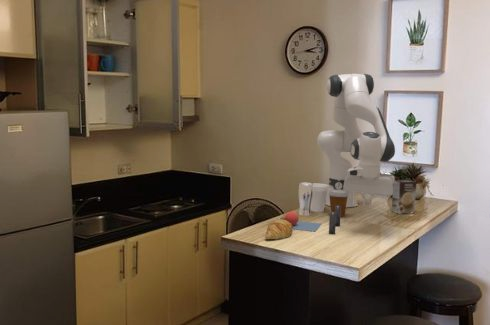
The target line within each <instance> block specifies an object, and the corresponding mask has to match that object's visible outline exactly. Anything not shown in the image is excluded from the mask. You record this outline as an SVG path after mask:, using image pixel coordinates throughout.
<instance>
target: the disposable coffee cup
mask: <svg viewBox="0 0 490 325" xmlns="http://www.w3.org/2000/svg"><path fill="white" fill-rule="evenodd" d="M348 195H349V194H348V192H345V191H344V190H340V189H333V190H330V191H329V196H330V206H329V207H330V212H335V206H336V205H339V206H341V218H344V217H345V216H346V215H345V213H346V209H347V207H346V203H347V198H348Z"/></svg>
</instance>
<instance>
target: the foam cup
mask: <svg viewBox="0 0 490 325" xmlns="http://www.w3.org/2000/svg"><path fill="white" fill-rule="evenodd" d="M328 186H329V184H327V183H326V184H325V183H318V182H317V183H315V182H313V198H312V203H311V212H314V213H324V211H325V208H326V207H325V206H326V204H325V202H326V196H327V191H328Z"/></svg>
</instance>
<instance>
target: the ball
mask: <svg viewBox="0 0 490 325" xmlns="http://www.w3.org/2000/svg"><path fill="white" fill-rule="evenodd" d="M285 215H286V216H285V220H287V221H288V222H290V223H292V225H295V224H297V222H298V221H299V214H297V213H296V212H294V211H289V212H287V213H286V214H285Z"/></svg>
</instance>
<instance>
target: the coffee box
mask: <svg viewBox="0 0 490 325" xmlns="http://www.w3.org/2000/svg"><path fill="white" fill-rule="evenodd" d="M416 191H417V181H414V180H410V179H395V182H394V183H393V194H392V198H391V199H392V200H391V212H392V211H393V212H392V213H394V212H395V213H394V214H396V213H398V214H397V215H403V214H402V213H411V212H414V213H415V205H416V204H415V202H416V195H417V194H416Z"/></svg>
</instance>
